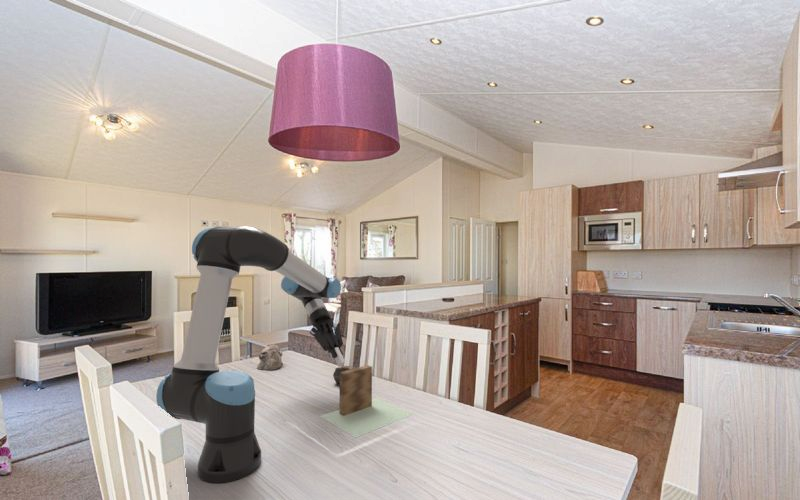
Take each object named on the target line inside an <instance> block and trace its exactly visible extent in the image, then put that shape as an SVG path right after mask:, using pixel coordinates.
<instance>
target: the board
mask: <svg viewBox="0 0 800 500" xmlns="http://www.w3.org/2000/svg"><path fill="white" fill-rule="evenodd" d="M353 368H354V367H353ZM372 368H373V366H371V365H368V364H367V365H362V366H360V367H358V368H357V367H356V368H354V369H351V370H347V371H343V372H340V384H339V406H338V407H339V409H338V410H339V414H341V415H343V416H345V415H348V414H351V413H353V412H356V411H359V410H362V409H365V408H368V407H371V406H372V399H373V396H372V395H373V391H372V390H373V386H372V385H373V369H372Z"/></svg>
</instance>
